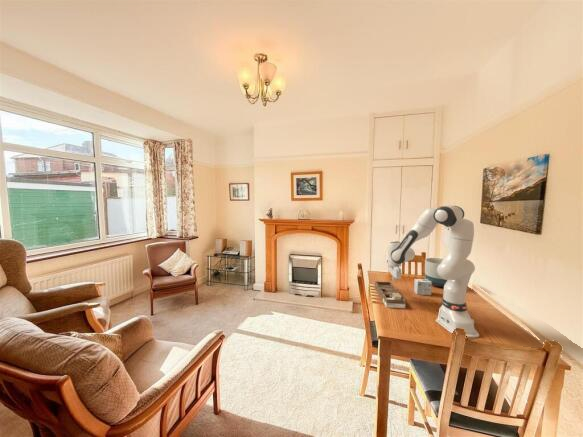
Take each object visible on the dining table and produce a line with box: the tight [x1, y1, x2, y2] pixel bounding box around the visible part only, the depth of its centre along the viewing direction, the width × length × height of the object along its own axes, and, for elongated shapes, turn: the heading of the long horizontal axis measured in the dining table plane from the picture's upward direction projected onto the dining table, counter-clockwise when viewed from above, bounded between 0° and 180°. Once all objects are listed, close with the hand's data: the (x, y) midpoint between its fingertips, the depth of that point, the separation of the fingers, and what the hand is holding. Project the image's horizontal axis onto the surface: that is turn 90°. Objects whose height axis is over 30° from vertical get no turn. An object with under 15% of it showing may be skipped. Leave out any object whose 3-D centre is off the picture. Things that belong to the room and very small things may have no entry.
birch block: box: [392, 293, 402, 300], centre depth 166 cm, size 5×4×4 cm
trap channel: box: [374, 280, 406, 309], centre depth 178 cm, size 35×12×6 cm, turn 173°
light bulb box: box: [413, 278, 433, 296], centre depth 184 cm, size 11×7×11 cm, turn 84°
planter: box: [424, 257, 447, 288], centre depth 200 cm, size 20×20×21 cm
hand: (394, 281), depth 173 cm, fingers closed
